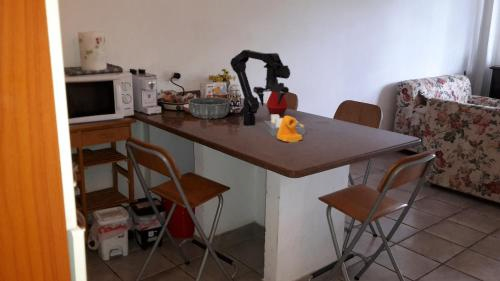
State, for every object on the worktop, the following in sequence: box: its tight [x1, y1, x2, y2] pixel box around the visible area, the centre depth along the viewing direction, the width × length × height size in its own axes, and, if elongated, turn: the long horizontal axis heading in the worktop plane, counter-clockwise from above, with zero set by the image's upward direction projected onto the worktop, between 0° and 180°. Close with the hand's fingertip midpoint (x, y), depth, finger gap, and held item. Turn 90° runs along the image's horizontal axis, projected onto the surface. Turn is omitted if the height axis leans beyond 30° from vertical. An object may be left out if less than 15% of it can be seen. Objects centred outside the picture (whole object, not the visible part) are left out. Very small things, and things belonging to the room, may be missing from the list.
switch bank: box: [263, 119, 306, 137], centre depth 249 cm, size 18×18×5 cm
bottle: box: [266, 91, 289, 118], centre depth 290 cm, size 16×14×20 cm
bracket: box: [276, 115, 303, 143], centre depth 229 cm, size 11×7×12 cm, turn 119°
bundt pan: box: [187, 96, 232, 120], centre depth 282 cm, size 26×26×10 cm
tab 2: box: [275, 117, 284, 127], centre depth 242 cm, size 4×3×6 cm
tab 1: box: [270, 114, 280, 123], centre depth 252 cm, size 4×3×6 cm
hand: (270, 105), depth 251 cm, fingers open, 9 cm apart
